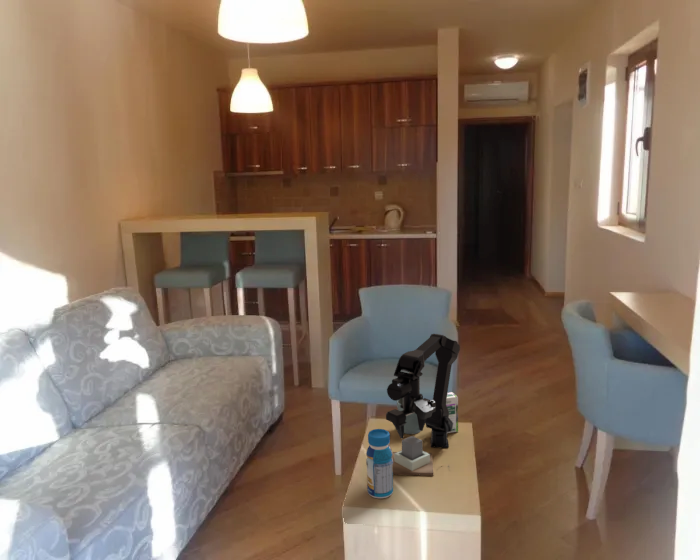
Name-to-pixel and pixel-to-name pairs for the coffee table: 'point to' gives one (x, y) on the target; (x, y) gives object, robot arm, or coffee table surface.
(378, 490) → the beverage bottle
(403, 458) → the holder collar
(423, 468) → the walnut board
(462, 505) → the coffee table surface
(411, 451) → the banded block
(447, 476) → the coffee table surface
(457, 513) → the coffee table surface
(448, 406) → the syrup box
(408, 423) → the grey green cup
